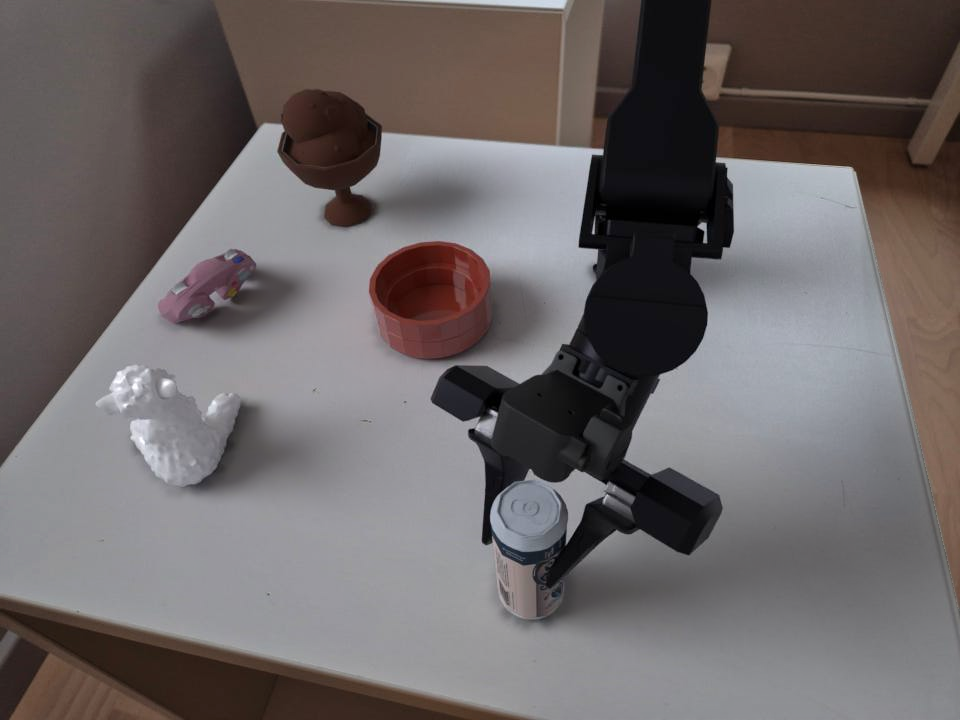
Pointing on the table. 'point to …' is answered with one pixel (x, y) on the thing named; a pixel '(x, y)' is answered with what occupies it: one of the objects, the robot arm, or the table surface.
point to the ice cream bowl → (331, 149)
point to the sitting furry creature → (171, 423)
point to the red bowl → (431, 299)
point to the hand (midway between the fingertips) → (517, 564)
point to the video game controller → (207, 285)
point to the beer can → (528, 547)
